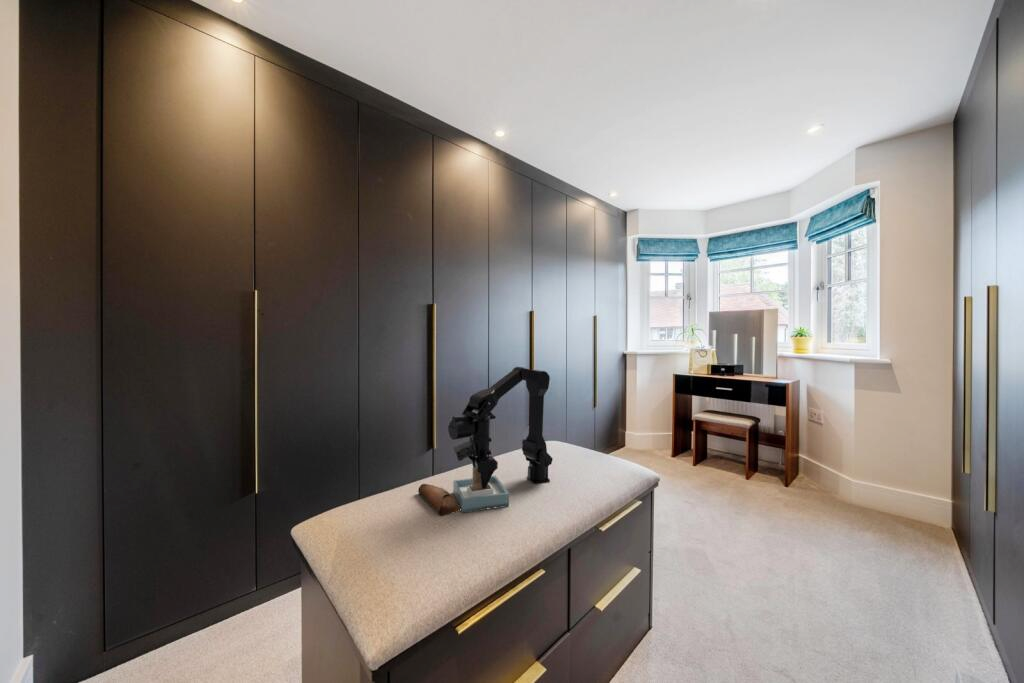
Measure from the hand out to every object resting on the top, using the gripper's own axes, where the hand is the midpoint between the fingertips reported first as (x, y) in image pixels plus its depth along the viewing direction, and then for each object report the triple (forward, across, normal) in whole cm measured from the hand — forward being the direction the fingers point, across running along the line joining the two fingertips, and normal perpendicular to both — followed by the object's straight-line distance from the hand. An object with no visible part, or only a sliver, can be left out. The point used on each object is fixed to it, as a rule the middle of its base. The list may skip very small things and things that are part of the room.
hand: (480, 482), depth 121 cm
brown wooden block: (+3, 0, 0) cm, 3 cm away
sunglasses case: (+6, -2, -12) cm, 14 cm away
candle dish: (+5, 0, 0) cm, 5 cm away
